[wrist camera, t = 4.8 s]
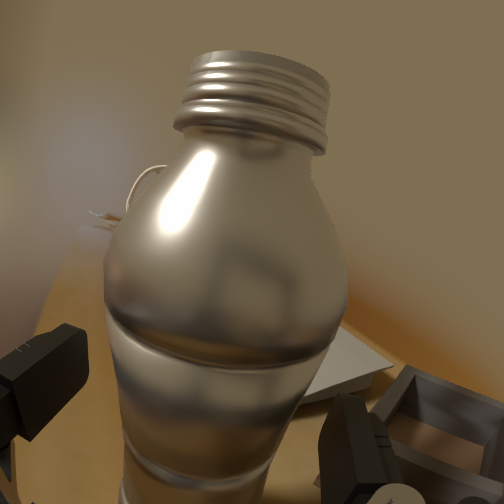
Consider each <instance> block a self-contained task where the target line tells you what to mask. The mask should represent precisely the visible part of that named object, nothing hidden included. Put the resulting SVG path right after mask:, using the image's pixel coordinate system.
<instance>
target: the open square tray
mask: <svg viewBox="0 0 504 504" xmlns="http://www.w3.org/2000/svg"><path fill="white" fill-rule="evenodd" d="M369 413H375V414H376V415H377V416H378V417H379V418H380V419H381V420H382V421H383V423H384V424H385V426H386V429H387V432H388V435H389V437H388V438H390V441H391V444H392V448H393V450H394V453H395V456H396V459H397V462H398V465H399V469H400V472H401V475H402V478H403V481H404V485H407V486H410V487H412V488H414V489H415V490H417V491H418V492H419V493H420V494H421V495H422V497H423V499H424V501H425V504H457V503H458V502H459V501H460V500H462V499H463V498H466V497H470V496H476V497H481V498H483V499H485V500H487V501H488V502H489V503H491V504H504V403H502V402H499V401H497V400H494V399H492V398H489V397H487V396H484V395H481V394H479V393H476V392H473V391H471V390H468V389H466V388H463V387H461V386H458V385H456V384H453V383H451V382H448V381H446V380H443V379H441V378H438V377H436V376H433V375H431V374H428V373H426V372H423V371H421V370H419V369H416V368H414V367H411V366H409V365H407V364H406V366H405V367H404V368H403V370H402V371H401V372H400V374H399V375H398V376H397V378H396V379H395V381H394V382H393V383H392V384H391V386H390V387H389V388H388V390H387V391H386V392H385V394H384V395H383V396H382V397H381V399H380V400H379V401H378V402H377V404H376V405H375V406H374V407H373V408H372V410H371V411H370V412H369ZM313 484H315V485H316V486H318V487H320V488H321V485H320V474H319V475H318V476H317V478H316V480H315V481H314V483H313Z"/></svg>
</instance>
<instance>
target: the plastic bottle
mask: <svg viewBox="0 0 504 504" xmlns="http://www.w3.org/2000/svg"><path fill="white" fill-rule="evenodd" d="M329 88H330V86H329V83H328V81H327V80H326V79H325V78H324V77H323V76H322V75H320V74H319V73H318V72H316V71H315V70H313V69H311V68H309V67H307V66H305V65H303V64H300V63H298V62H295V61H292V60H290V59H286V58H283V57H279V56H276V55H271V54H266V53H260V52H252V51H241V50H239V51H238V50H237V51H235V50H234V51H233V50H227V51H216V52H211V53H206V54H203V55H201V56H198V57H196V58H195V59H194V60H193V61H192V65H191V67H190V68H189V72H188V76H187V81H186V85H185V90H184V95H183V100H182V105H181V107H180V108H179V109H177V110H176V114H175V119H174V125H173V128H174V129H176V130H178V131H180V132H183V133H184V138H183V142H182V145H181V148H180V150H179V153H178V155H177V156H176V157H175V158H174V159H173V160H172V161H171V162H170V163H169V164H168V165H167V166H166V167H165V168H164V169H163V170H162V171H161V172H160V173H159V175H158V176H157V177H156V178H155V179H154V180H153V181H152V182H151V183H150V184H149V185H148V186H147V187H146V188H145V189H144V190H143V191H142V192H141V194H140V195H139V196H138V198H137V199H136V200H135V202H134V203H133V204H132V206H131V207H130V208H129V210H128V211H127V213H126V214H125V215H124V217H123V218H122V219H121V221H120V222H119V224H118V225H117V226H116V228H115V231H114V234H113V236H112V239H111V241H110V244H109V247H108V249H107V252H106V255H105V257H104V260H103V271H104V302H105V307H106V318H107V325H108V332H109V339H110V345H111V352H112V357H113V363H114V369H115V374H116V379H117V385H118V396H119V405H120V414H121V419H122V430H123V436H124V465H123V478H122V481H121V485H120V488H119V498H118V504H261V497H262V494H263V490H264V486H265V482H266V478H267V474H268V470H269V466H270V464H271V462H272V460H273V458H274V456H275V454H276V451H277V449H278V447H279V445H280V443H281V441H282V439H283V436H284V434H285V432H286V430H287V428H288V425H289V423H290V421H291V418H292V416H293V415H294V413H295V411H296V410H297V408H298V406H299V404H300V403H301V401H302V399H303V397H304V395H305V394H306V392H307V390H308V388H309V386H310V385H311V383H312V381H313V379H314V377H315V375H316V373H317V372H318V370H319V368H320V366H321V364H322V362H323V360H324V358H325V356H326V354H327V352H328V350H329V347H330V344H331V343H332V342H333V340H334V339H335V336H336V334H337V331H338V328H339V326H340V323H341V320H342V318H343V315H344V313H345V310H346V307H347V303H348V270H347V263H346V260H345V257H344V254H343V252H342V248H341V245H340V242H339V239H338V236H337V233H336V231H335V228H334V225H333V223H332V221H331V218H330V217H329V214H328V212H327V210H326V208H325V206H324V204H323V201H322V199H321V197H320V195H319V193H318V191H317V189H316V187H315V185H314V183H313V181H312V179H311V160H312V156H321V155H325V153H326V147H327V140H328V136H327V135H326V134H325V126H326V120H327V119H326V118H327V113H328V106H329V99H330V92H329Z"/></svg>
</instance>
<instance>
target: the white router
mask: <svg viewBox="0 0 504 504" xmlns="http://www.w3.org/2000/svg"><path fill="white" fill-rule="evenodd" d="M392 367H394V365H393V364H391V363H390V362H389V361H387V360H386V359H384V358H383V357H382V356H380V355H379V354H378V353H376V352H375V351H373V350H372V349H371V348H369V347H368V346H366V345H365V344H364V343H362V342H361V341H359V340H358V339H357V338H355V337H354V336H353V335H351V334H350V333H348V332H347V331H346V330H344V329H343V328H341V327H340V326H339V328H338V331H337V334H336V336H335V339H334V340H333V342H332V343H331V344H330V347H329V350H328V352H327V354H326V356H325V358H324V360H323V362H322V364H321V366H320V368H319V370H318V372H317V373H316V375H315V377H314V379H313V381H312V383H311V385H310V386H309V388H308V390H307V392H306V394H305V395H304V397H303V399H302V401H301V403H300V404H299V405H301V404H306V403H311V402H315V401H320V400H324V399H328V398H333V397H335V396H336V394H337V393H342V394H349V393H352V392H356V391H360V390H363V389H367V388H369V387H370V384H371V382H372V380H373V377H374V375H375V372H378V371H381V370H385V369H388V368H392Z"/></svg>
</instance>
